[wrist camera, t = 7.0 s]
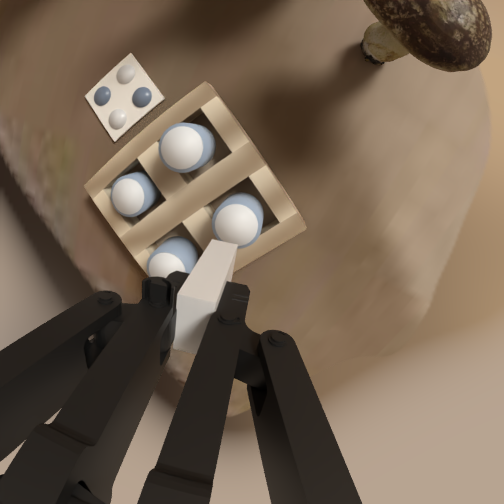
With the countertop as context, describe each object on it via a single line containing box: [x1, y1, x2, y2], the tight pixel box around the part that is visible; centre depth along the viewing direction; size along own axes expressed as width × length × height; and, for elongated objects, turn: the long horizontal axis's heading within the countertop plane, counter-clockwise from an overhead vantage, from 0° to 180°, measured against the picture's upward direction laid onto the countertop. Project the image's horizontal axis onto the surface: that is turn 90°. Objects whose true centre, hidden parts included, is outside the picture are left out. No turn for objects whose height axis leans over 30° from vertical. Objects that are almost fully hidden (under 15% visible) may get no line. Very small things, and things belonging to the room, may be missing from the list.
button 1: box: [111, 171, 161, 217], centre depth 28 cm, size 4×4×4 cm
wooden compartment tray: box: [84, 81, 307, 277], centre depth 29 cm, size 16×16×3 cm
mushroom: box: [361, 0, 492, 72], centre depth 16 cm, size 9×9×15 cm
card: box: [85, 53, 165, 142], centre depth 27 cm, size 7×7×1 cm
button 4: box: [212, 192, 264, 249], centre depth 26 cm, size 4×4×4 cm
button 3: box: [147, 236, 199, 278], centre depth 28 cm, size 4×4×4 cm
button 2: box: [158, 123, 216, 173], centre depth 24 cm, size 4×4×4 cm
